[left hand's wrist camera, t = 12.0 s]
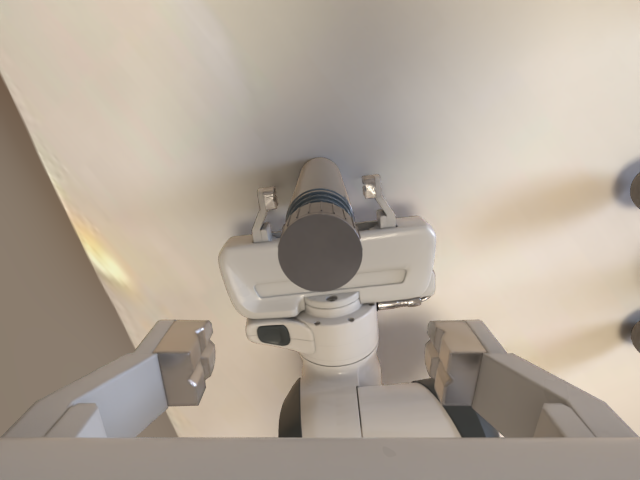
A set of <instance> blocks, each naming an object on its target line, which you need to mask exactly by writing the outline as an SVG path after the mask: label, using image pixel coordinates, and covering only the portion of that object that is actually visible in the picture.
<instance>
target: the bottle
mask: <svg viewBox="0 0 640 480" xmlns="http://www.w3.org/2000/svg"><path fill="white" fill-rule="evenodd" d="M321 201H322V202H326V203H331V204H334V205H336V206H338V207H340V208H342V209H345V211H346V212H347V213H348V214H349V215H350V216H351V217H353V220H354V223H355V218H354V213H353V209H352V206H351V203H350V200H349V197H348V194H347V191H346V188H345V185H344V182H343V179H342V176H341V173H340V170H339V168H338V166H337V165H336V164H335V163H334V162H333V161H331V160H330V159H327V158H324V157H317V158H313V159H311V160H309V161H308V162H307V163H305V165H304V166H303V167H302V169H301V172H300V175H299V178H298V181H297V184H296V187H295V190H294V193H293V196H292V199H291V202H290V205H289V208H288V211H287V215H286V222H287V220H288V218H289V215H292V213H293V212H295V211H296V210H297V209H298V208H300V207H302V206H304V205H307V204H309V203H315V202H321Z"/></svg>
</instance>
